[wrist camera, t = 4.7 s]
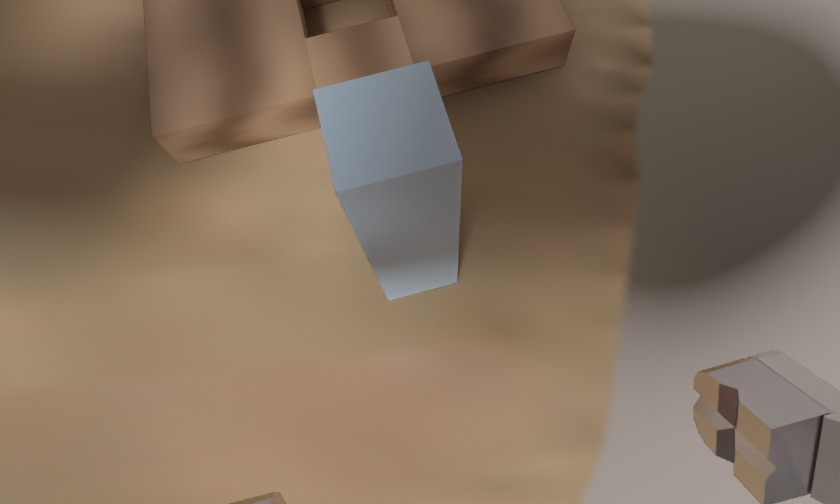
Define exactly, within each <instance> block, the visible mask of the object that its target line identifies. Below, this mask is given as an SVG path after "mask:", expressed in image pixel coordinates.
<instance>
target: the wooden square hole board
mask: <svg viewBox="0 0 840 504" xmlns="http://www.w3.org/2000/svg"><path fill="white" fill-rule="evenodd" d="M335 1H339V0H143V7H144V23H145V39H146V54H147V70H148V86H149V101H150V117H151V133H152V138H153V139H154V140H155V141H156V142H157V143H159V144H160V145H161V146H162V147H163V148H164V149H165V150H166V151H167V152H168V153H169V154H170V155H171V156H172V157H173V158H174V159H175V160H176V161H177V162H178V163H179V164H180V163H184V162H188V161H192V160H196V159H200V158H204V157H208V156H211V155H215V154H219V153H223V152H227V151H231V150H235V149H239V148H243V147H247V146H251V145H254V144H258V143H262V142H266V141H270V140H274V139H278V138H282V137H286V136H290V135H294V134H297V133H301V132H305V131H309V130H313V129H317V128H321V125H320V121H319V116H318V112H317V107H316V103H315V98H314V94H313V89H317V88H321V87H325V86H329V85H333V84H337V83H341V82H345V81H349V80H353V79H357V78H361V77H365V76H369V75H373V74H377V73H381V72H385V71H389V70H392V69H396V68H400V67H404V66H408V65H412V64H416V63H420V62H424V61H428V60H429V62H430V65H431V68H432V71H433V74H434V77H435V80H436V83H437V86H438V89H439V92H440V95H441V97H442V96H446V95H450V94H454V93H458V92H462V91H465V90H469V89H473V88H477V87H481V86H485V85H489V84H493V83H497V82H501V81H505V80H508V79H512V78H516V77H520V76H524V75H528V74H532V73H536V72H540V71H544V70H548V69H551V68H555V67H559V66H563V65H564V64H565V61H566V58H567V55H568V51H569V48H570V45H571V42H572V39H573V35H574V32H575V28H574V26H573V24H572V22H571V20H570V18H569V16H568V14H567V12H566V10H565V8H564V6H563V4H562V2H561V0H386V1H387V5H388V8H389V11H390V14H391V17H390V18H386V19H382V20H378V21H374V22H369V23H365V24H361V25H357V26H353V27H349V28H345V29H341V30H337V31H333V32H329V33H325V34H321V35H317V36H313V37H310V36H309V32H308V28H307V23H306V19H305V15H304V10H303V9H307V8H311V7H315V6H319V5H323V4H327V3H331V2H335Z"/></svg>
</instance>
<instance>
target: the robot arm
mask: <svg viewBox="0 0 840 504" xmlns="http://www.w3.org/2000/svg"><path fill="white" fill-rule="evenodd" d="M694 389H695V390H696V391H697V392H698V393H699V394H700V395H701V396H700V397H699V399H698V400H697V402H696V403H695V405H694V406H693V411H694V422H695V424H696V427H697V430H698V432H699V434H700V436H701V438H702V439H703V441H704V442H705V444H706V445H707V446H708V447H709V448H710V449H711V451H712V452H713V453H714V454H715V455H716V456H718V457H721V458H723V459H725V460H727V461H730V462H732V463H733V471H734V476H735V477H736V478H737V479H738V480H739V481H740V482H741V483H742V484H743V485H744V487H745V488H746V489H747V490H748V491H749V492H750V493H751V494H752V495H753V496H754V497H755V498H756V499H757V500H758V502H759V503H760V504H774V503H778V502H782V501H785V500H789V499H793V498H797V497H801V496H805V495H808V494H811V497H812V498H814V499H815V500H817V501H819V502H821V503H823V504H840V391H839V390H838V389H836V388H835V387H834V386H832V385H831V384H829V383H828V382H826V381H825V380H823V379H822V378H820V377H819V376H817V375H816V374H814V373H813V372H811V371H810V370H808V369H807V368H805V367H804V366H802V365H801V364H799V363H798V362H797V361H795V360H793V359H792V358H791V357H789V356H787V355H786V354H785V353H783V352H781V351H777V350H770V351H767V352H763V353H760V354H756V355H753V356H749V357H747V358H742V359H739V360H736V361H732V362H729V363H725V364H722V365H719V366H715V367H712V368H709V369H705V370H702V371H699V372H697V374H696V375H695V377H694ZM230 504H286V502H285V501H284V499H283V497H282V495H281V493H280V492H273V493H269V494H265V495H261V496H257V497H253V498H249V499H245V500H242V501H238V502H234V503H230Z"/></svg>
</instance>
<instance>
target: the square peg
mask: <svg viewBox="0 0 840 504" xmlns="http://www.w3.org/2000/svg"><path fill="white" fill-rule="evenodd" d="M313 94H314V98H315V103H316V107H317V112H318V116H319V121H320V125H321V130H322V135H323V139H324V144H325V148H326V153H327V157H328V162H329V166H330V171H331V175H332V180H333V184H334V189H335V193H336V195H337V197H338V199H339V201H340V203H341V205H342V207H343V209H344V211H345V213H346V215H347V218H348V220H349V222H350V224H351V226H352V228H353V230H354V232H355V234H356V236H357V238H358V240H359V242H360V244H361V246H362V248H363V250H364V252H365V254H366V256H367V258H368V260H369V262H370V264H371V266H372V268H373V270H374V272H375V274H376V276H377V278H378V280H379V283H380V285H381V287H382V289H383V291H384V293H385V295H386V297H387V299H388V301H390V300H394V299H398V298H401V297H405V296H409V295H412V294H416V293H420V292H424V291H427V290H431V289H435V288H438V287H442V286H446V285H450V284H453V283H457V278H458V256H459V233H460V210H461V188H462V165H463V159H462V156H461V153H460V150H459V147H458V144H457V141H456V138H455V136H454V133H453V130H452V127H451V124H450V121H449V118H448V115H447V112H446V109H445V106H444V103H443V100H442V97H441V95H440V92H439V89H438V86H437V83H436V80H435V77H434V74H433V71H432V68H431V65H430V62H429V60H428V61H424V62H420V63H416V64H412V65H408V66H404V67H400V68H396V69H392V70H389V71H385V72H381V73H377V74H373V75H369V76H365V77H361V78H357V79H353V80H349V81H345V82H341V83H337V84H333V85H329V86H325V87H321V88H317V89H313Z"/></svg>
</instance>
